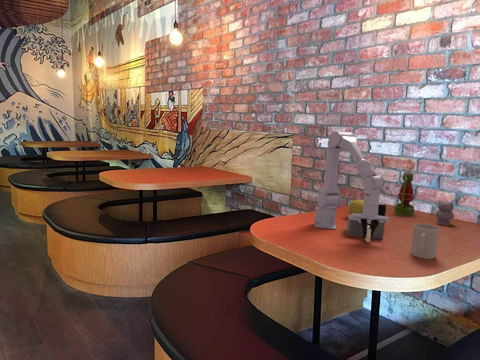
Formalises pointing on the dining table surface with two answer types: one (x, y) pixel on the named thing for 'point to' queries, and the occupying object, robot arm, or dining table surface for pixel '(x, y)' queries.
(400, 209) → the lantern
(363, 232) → the pale narrow strip
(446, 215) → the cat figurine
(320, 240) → the dining table surface
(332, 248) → the dining table surface
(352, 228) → the panel
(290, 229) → the dining table surface
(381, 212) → the beverage can
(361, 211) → the fruit
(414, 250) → the mug
